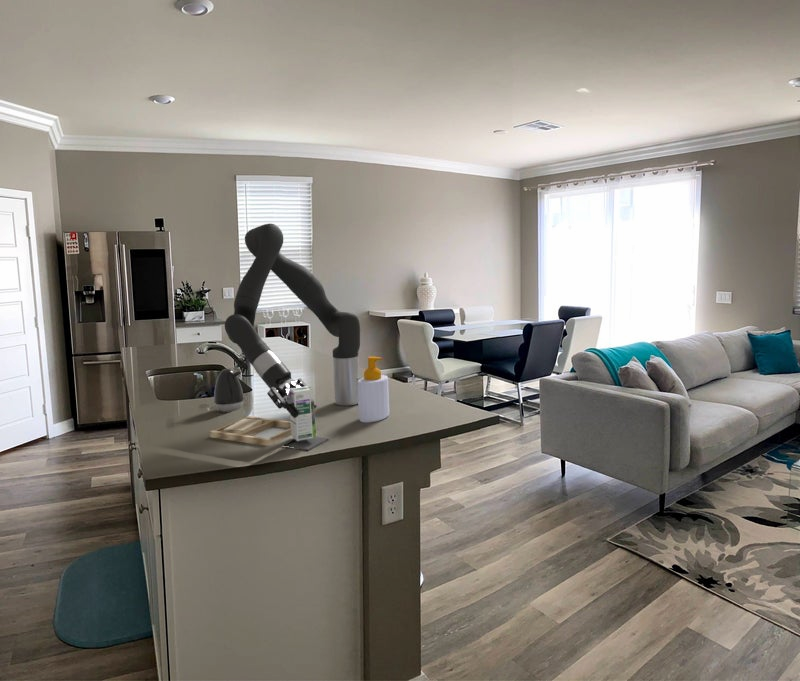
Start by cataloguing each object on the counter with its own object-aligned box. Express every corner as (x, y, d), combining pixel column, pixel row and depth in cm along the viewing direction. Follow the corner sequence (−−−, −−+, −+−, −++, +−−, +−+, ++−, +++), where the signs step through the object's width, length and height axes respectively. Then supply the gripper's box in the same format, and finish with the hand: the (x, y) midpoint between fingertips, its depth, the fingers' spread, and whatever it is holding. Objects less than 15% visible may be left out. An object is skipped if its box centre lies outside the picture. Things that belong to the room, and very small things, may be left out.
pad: (279, 446, 165) (279, 444, 165) (300, 436, 174) (300, 434, 173) (308, 450, 160) (308, 449, 160) (328, 440, 169) (328, 438, 169)
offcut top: (224, 435, 173) (223, 429, 172) (244, 424, 183) (243, 418, 183) (243, 436, 171) (242, 430, 170) (262, 425, 181) (261, 419, 181)
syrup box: (297, 441, 163) (294, 391, 161) (290, 436, 168) (287, 387, 166) (316, 438, 165) (313, 388, 163) (309, 432, 171) (307, 384, 168)
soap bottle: (373, 424, 183) (370, 361, 180) (352, 421, 187) (349, 359, 184) (395, 414, 194) (393, 354, 191) (375, 411, 198) (372, 353, 196)
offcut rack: (210, 441, 172) (209, 431, 172) (249, 425, 187) (249, 416, 187) (268, 450, 162) (268, 439, 162) (305, 432, 177) (304, 423, 177)
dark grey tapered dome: (236, 414, 201) (233, 371, 198) (209, 414, 203) (205, 371, 200) (250, 407, 210) (247, 366, 208) (224, 406, 213) (220, 365, 210)
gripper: (262, 366, 161) (298, 410, 157) (293, 357, 173) (327, 398, 170) (248, 383, 164) (283, 427, 160) (280, 373, 176) (313, 413, 173)
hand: (306, 412), depth 165 cm, fingers closed on syrup box, 7 cm apart
